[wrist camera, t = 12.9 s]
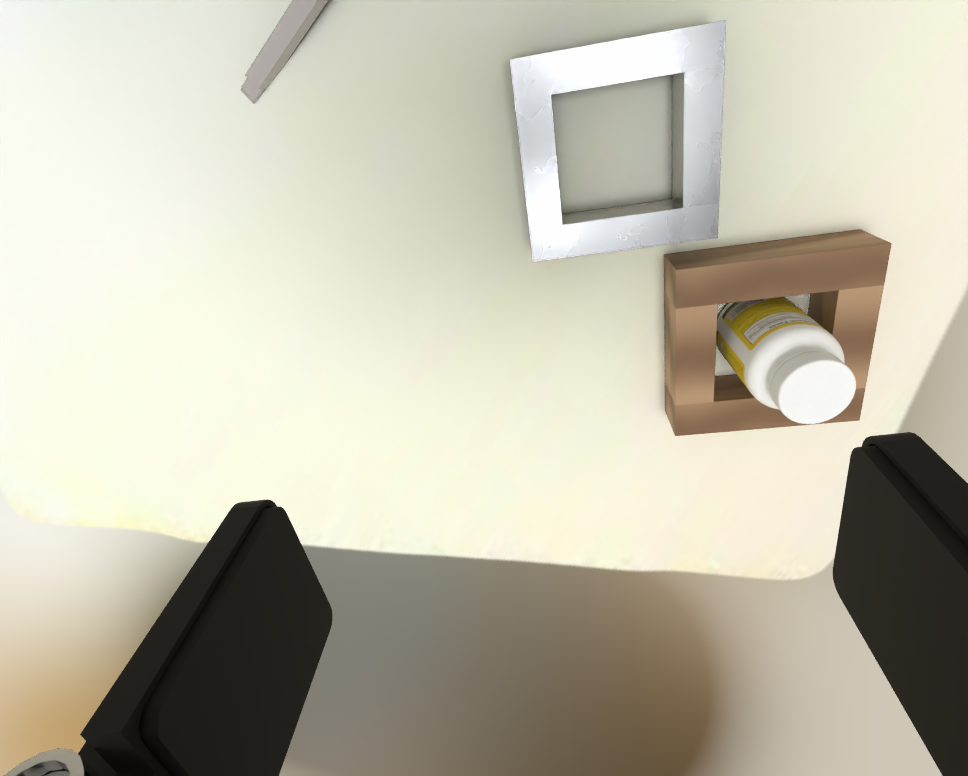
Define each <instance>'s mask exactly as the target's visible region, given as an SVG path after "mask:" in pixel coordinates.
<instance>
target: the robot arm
mask: <svg viewBox="0 0 968 776" xmlns="http://www.w3.org/2000/svg"><path fill="white" fill-rule="evenodd" d="M833 580H834V583H835V587H836V590H837V592H838V594H839V596H840V598H841V600H842V601H843V603H844V605H845V607H846V608H847V610H848V612H849V614H850V615H851V617H852V619H853V621H854V622H855V624H856V626H857V628H858V629H859V631H860V633H861V634H862V636H863V638H864V640H865V641H866V643H867V645H868V647H869V648H870V650H871V652H872V654H873V655H874V657H875V659H876V660H877V662H878V664H879V666H880V667H881V669H882V671H883V673H884V674H885V676H886V678H887V680H888V681H889V683H890V685H891V687H892V688H893V690H894V692H895V694H896V695H897V697H898V699H899V701H900V702H901V704H902V706H903V707H904V709H905V711H906V713H907V714H908V716H909V718H910V719H911V721H912V723H913V725H914V727H915V728H916V730H917V732H918V734H919V735H920V737H921V739H922V740H923V742H924V744H925V745H926V747H927V749H928V751H929V753H930V754H931V756H932V758H933V760H934V761H935V763H936V765H937V767H938V768H939V770H940V772H941V773H942V775H943V776H968V483H967V482H966V481H964V480H963V479H962V478H961V477H960V476H959V475H958V474H957V473H956V472H955V471H954V470H953V469H952V468H951V467H950V466H949V465H948V464H947V463H946V462H945V461H944V460H943V459H942V458H941V457H940V456H939V455H937V453H936V452H935V451H934V450H932V448H930V447H929V446H928V445H927V444H926V443H925V442H924V441H923V440H922V439H921V438H920V437H919V436H917V435H916V434H915V433H910V432H907V433H897V434H888V435H878V436H870V437H867V438H866V439H865V440H864V442H863V444H862V447H857V448H854V449H853V451H852V453H851V457H850V463H849V470H848V476H847V483H846V489H845V495H844V502H843V508H842V515H841V521H840V527H839V534H838V540H837V547H836V553H835V559H834V566H833ZM331 625H332V609H331V607H330V604H329V602H328V600H327V598H326V595H325V593H324V591H323V589H322V587H321V585H320V583H319V581H318V579H317V576H316V575H315V572H314V570H313V568H312V566H311V564H310V562H309V560H308V558H307V555H306V553H305V551H304V549H303V547H302V545H301V543H300V541H299V539H298V536H297V534H296V532H295V530H294V528H293V526H292V524H291V522H290V520H289V518H288V515H287V513H286V512H285V510H284V509H283V508H282V507H277V506H276V504H275V503H274V502H273V501H271V500H259V501H250V502H240V503H237V504H235V505H234V506H233V507H232V508H231V510H230V511H229V513H228V514H227V516H226V517H225V519H224V520H223V522H222V523H221V525H220V526H219V528H218V529H217V531H216V532H215V534H214V535H213V537H212V538H211V540H210V541H209V543H208V544H207V546H206V547H205V549H204V550H203V552H202V553H201V555H200V556H199V558H198V559H197V561H196V562H195V564H194V565H193V567H192V568H191V570H190V571H189V573H188V574H187V576H186V577H185V579H184V580H183V582H182V583H181V585H180V586H179V588H178V589H177V591H176V592H175V594H174V595H173V597H172V598H171V600H170V601H169V603H168V604H167V606H166V607H165V608H164V610H163V611H162V613H161V615H160V616H159V617H158V619H157V620H156V622H155V624H154V625H153V627H152V628H151V629H150V631H149V633H148V634H147V635H146V637H145V638H144V640H143V641H142V643H141V644H140V646H139V647H138V649H137V650H136V652H135V653H134V655H133V656H132V658H131V659H130V661H129V662H128V664H127V665H126V667H125V669H124V670H123V671H122V673H121V674H120V676H119V677H118V679H117V680H116V682H115V683H114V685H113V686H112V688H111V689H110V691H109V692H108V694H107V695H106V697H105V698H104V700H103V701H102V703H101V704H100V706H99V707H98V709H97V710H96V712H95V713H94V715H93V716H92V718H91V719H90V721H89V722H88V724H87V725H86V727H85V728H84V730H83V731H82V733H81V734H80V735H81V736H82V737H83V738H84V739H85V740H86V743H85V744H84V746H83V747H82V749H81V750H80V752H79V753H78V754H77V753H75V752H74V751H73V750H71V749H60V748H57V749H53V750H50V751H46V752H42V753H40V754H38V755H36V756H34V757H32V758H30V759H28V760H26V761H24V762H22V763H21V764H19V765H18V766H16V767H15V768H14V769H12V770H11V771H9V772H8V773H7V774H5V775H4V776H279V773H280V770H281V767H282V765H283V762H284V759H285V756H286V753H287V751H288V748H289V745H290V742H291V739H292V736H293V734H294V731H295V728H296V725H297V722H298V719H299V717H300V714H301V711H302V708H303V705H304V702H305V700H306V697H307V694H308V691H309V688H310V685H311V682H312V679H313V677H314V674H315V671H316V668H317V665H318V663H319V660H320V657H321V654H322V651H323V648H324V646H325V643H326V640H327V637H328V634H329V632H330V629H331Z"/></svg>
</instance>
